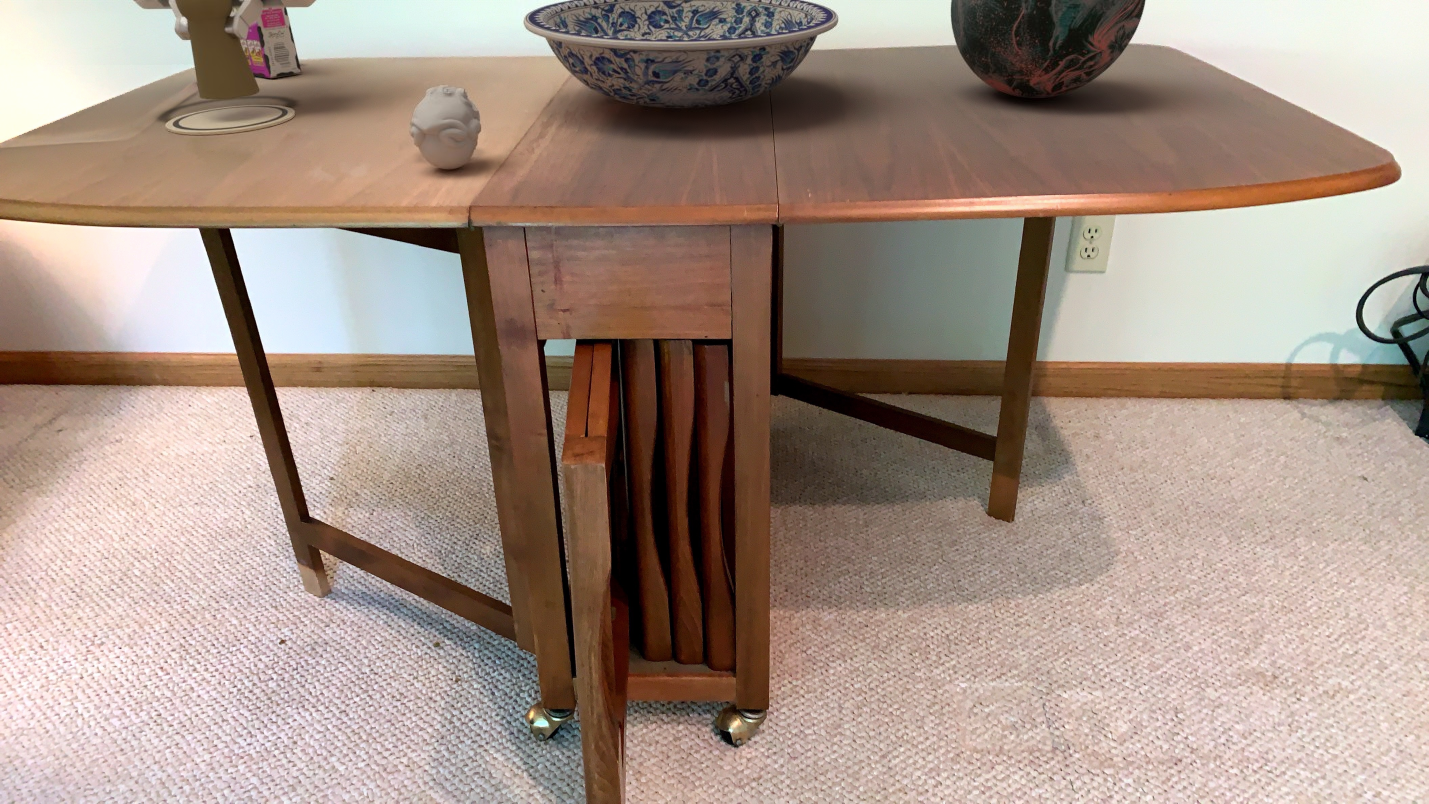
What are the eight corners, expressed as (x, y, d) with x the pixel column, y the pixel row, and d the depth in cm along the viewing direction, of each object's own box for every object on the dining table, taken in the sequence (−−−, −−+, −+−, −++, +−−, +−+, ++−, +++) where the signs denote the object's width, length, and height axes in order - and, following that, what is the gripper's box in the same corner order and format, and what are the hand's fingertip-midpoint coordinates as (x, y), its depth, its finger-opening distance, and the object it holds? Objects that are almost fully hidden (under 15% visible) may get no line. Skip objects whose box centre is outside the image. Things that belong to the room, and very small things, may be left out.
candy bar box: (305, 73, 122) (273, -61, 114) (271, 79, 119) (236, -58, 111) (259, 66, 128) (225, -62, 120) (225, 72, 124) (188, -60, 116)
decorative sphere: (923, 81, 110) (940, -104, 100) (1082, 77, 111) (1115, -108, 101) (969, 118, 93) (996, -100, 83) (1157, 113, 94) (1207, -105, 84)
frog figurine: (500, 158, 83) (489, 80, 79) (465, 180, 77) (452, 96, 74) (440, 155, 84) (427, 78, 81) (402, 176, 78) (386, 94, 75)
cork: (212, 102, 94) (179, -13, 88) (190, 94, 97) (156, -16, 92) (269, 92, 98) (240, -18, 92) (246, 85, 101) (216, -21, 96)
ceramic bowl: (584, 156, 83) (574, 41, 78) (503, 90, 110) (492, 2, 105) (894, 116, 95) (902, 14, 90) (752, 65, 122) (752, -15, 117)
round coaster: (148, 138, 92) (147, 135, 92) (186, 111, 103) (185, 108, 103) (281, 130, 94) (281, 127, 94) (305, 104, 105) (304, 101, 105)
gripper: (119, -94, 95) (94, 17, 91) (306, -98, 94) (288, 15, 90) (157, -51, 101) (135, 56, 98) (333, -53, 100) (317, 54, 97)
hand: (210, 36), depth 94 cm, fingers closed on cork, 4 cm apart
